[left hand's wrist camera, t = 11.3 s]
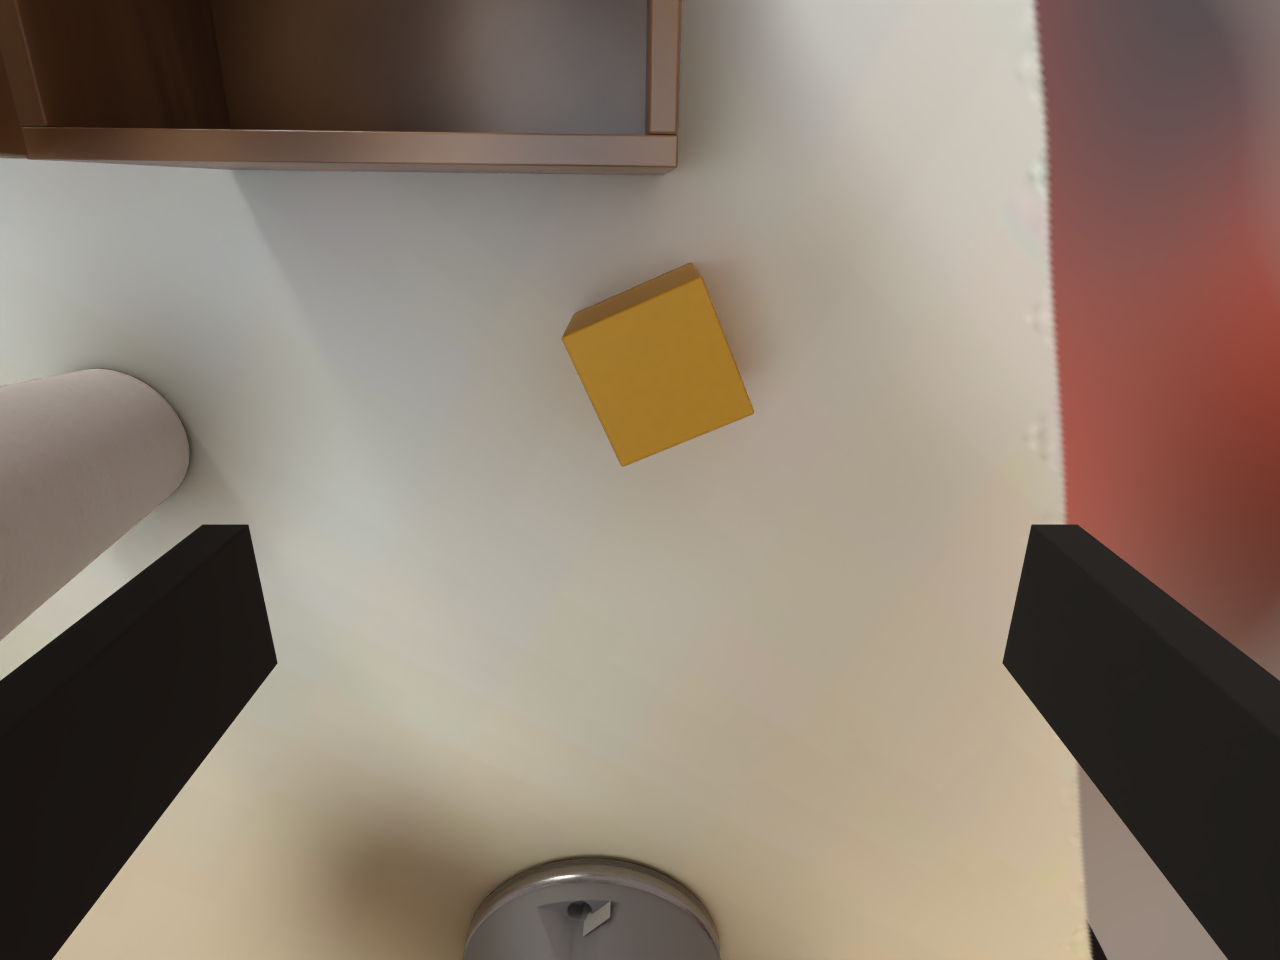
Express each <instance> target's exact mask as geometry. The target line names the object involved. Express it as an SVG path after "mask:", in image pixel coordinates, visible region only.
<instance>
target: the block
mask: <svg viewBox="0 0 1280 960" xmlns="http://www.w3.org/2000/svg"><path fill="white" fill-rule="evenodd" d="M562 340H563V343H564V345H565V347H566V349H567V351H568V353H569V355H570V358H571V360H572V362H573V364H574V366H575V368H576V370H577V373H578V375H579V377H580V379H581V381H582V383H583V385H584V388H585V390H586V392H587V394H588V396H589V398H590V400H591V402H592V405H593V407H594V409H595V411H596V413H597V415H598V417H599V420H600V422H601V424H602V426H603V428H604V430H605V432H606V435H607V437H608V439H609V441H610V443H611V445H612V447H613V450H614V452H615V454H616V456H617V458H618V460H619V462H620V464H621V466H626V465H628V464H631V463H633V462H636V461H638V460H641V459H643V458H646V457H648V456H651V455H653V454H656V453H658V452H660V451H663V450H665V449H668V448H670V447H673V446H675V445H678V444H680V443H683V442H685V441H688V440H690V439H693V438H695V437H697V436H700V435H702V434H705V433H707V432H710V431H712V430H715V429H717V428H720V427H722V426H725V425H727V424H730V423H732V422H735V421H737V420H739V419H742V418H744V417H747V416H749V415H752V414H753V413H754V410H753V407H752V405H751V402H750V400H749V397H748V395H747V392H746V389H745V387H744V384H743V382H742V379H741V377H740V374H739V371H738V369H737V366H736V364H735V361H734V359H733V356H732V353H731V351H730V348H729V346H728V343H727V340H726V338H725V335H724V333H723V330H722V328H721V325H720V322H719V320H718V317H717V315H716V312H715V310H714V307H713V304H712V302H711V299H710V297H709V294H708V292H707V289H706V286H705V284H704V281H703V279H702V277H701V276H700V274H699V273H698V271H697V270H696V269H695V267H694V266H693V264H692V263H688V264H686V265H684V266H681V267H679V268H677V269H675V270H672V271H670V272H668V273H666V274H663V275H661V276H659V277H657V278H654V279H652V280H650V281H648V282H645V283H643V284H641V285H638V286H636V287H634V288H632V289H629V290H627V291H625V292H623V293H620V294H618V295H616V296H614V297H611V298H609V299H607V300H604V301H602V302H600V303H598V304H595V305H593V306H591V307H589V308H586V309H584V310H582V311H580V312H577V313H575V314H574V315H573V317H572V319H571V321H570V323H569V325H568V327H567V329H566V331H565V333H564V335H563V337H562Z"/></svg>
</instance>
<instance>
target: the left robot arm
mask: <svg viewBox="0 0 1280 960" xmlns="http://www.w3.org/2000/svg"><path fill="white" fill-rule="evenodd" d="M276 664H277V659H276V654H275V649H274V644H273V640H272V635H271V630H270V625H269V621H268V616H267V611H266V606H265V602H264V597H263V592H262V587H261V583H260V578H259V573H258V568H257V563H256V559H255V554H254V549H253V544H252V540H251V535H250V530H249V525H202V526H200V527H199V528H198V529H196V530H195V531H194V532H193V533H191V534H190V535H189V536H187V537H186V538H185V539H183V540H182V541H181V542H180V543H178V544H177V545H176V546H174V547H173V548H172V549H170V550H169V551H168V552H167V553H165V554H164V555H163V556H161V557H160V558H159V559H158V560H156V561H155V562H154V563H152V564H151V565H150V566H148V567H147V568H146V569H145V570H143V571H142V572H141V573H139V574H138V575H137V576H136V577H134V578H133V579H132V580H130V581H129V582H128V583H126V584H125V585H124V586H123V587H121V588H120V589H119V590H117V591H116V592H115V593H114V594H112V595H111V596H110V597H108V598H107V599H106V600H104V601H103V602H102V603H101V604H99V605H98V606H97V607H95V608H94V609H93V610H92V611H90V612H89V613H88V614H86V615H85V616H84V617H82V618H81V619H80V620H79V621H77V622H76V623H75V624H73V625H72V626H71V627H69V628H68V629H67V630H66V631H64V632H63V633H62V634H60V635H59V636H58V637H57V638H55V639H54V640H53V641H51V642H50V643H49V644H47V645H46V646H45V647H44V648H42V649H41V650H40V651H38V652H37V653H36V654H35V655H33V656H32V657H31V658H29V659H28V660H27V661H25V662H24V663H23V664H22V665H20V666H19V667H18V668H16V669H15V670H14V671H13V672H11V673H10V674H9V675H7V676H6V677H5V678H3V679H2V680H1V681H0V960H52V959H53V957H54V956H55V955H56V953H57V952H58V951H59V949H60V948H61V947H62V946H63V944H64V943H65V942H66V940H67V939H68V938H69V936H70V935H71V934H72V932H73V931H74V930H75V928H76V927H77V926H78V925H79V923H80V922H81V921H82V919H83V918H84V917H85V915H86V914H87V913H88V911H89V910H90V909H91V907H92V906H93V905H94V904H95V902H96V901H97V900H98V898H99V897H100V896H101V894H102V893H103V892H104V890H105V889H106V888H107V886H108V885H109V884H110V882H111V881H112V880H113V879H114V877H115V876H116V875H117V873H118V872H119V871H120V869H121V868H122V867H123V865H124V864H125V863H126V861H127V860H128V859H129V858H130V856H131V855H132V854H133V852H134V851H135V850H136V848H137V847H138V846H139V844H140V843H141V842H142V840H143V839H144V838H145V837H146V835H147V834H148V833H149V831H150V830H151V829H152V827H153V826H154V825H155V823H156V822H157V821H158V819H159V818H160V817H161V815H162V814H163V813H164V812H165V810H166V809H167V808H168V806H169V805H170V804H171V802H172V801H173V800H174V798H175V797H176V796H177V794H178V793H179V792H180V791H181V789H182V788H183V787H184V785H185V784H186V783H187V781H188V780H189V779H190V777H191V776H192V775H193V773H194V772H195V771H196V770H197V768H198V767H199V766H200V764H201V763H202V762H203V760H204V759H205V758H206V756H207V755H208V754H209V752H210V751H211V750H212V748H213V747H214V746H215V745H216V743H217V742H218V741H219V739H220V738H221V737H222V735H223V734H224V733H225V731H226V730H227V729H228V727H229V726H230V725H231V724H232V722H233V721H234V720H235V718H236V717H237V716H238V714H239V713H240V712H241V710H242V709H243V708H244V706H245V705H246V704H247V703H248V701H249V700H250V699H251V697H252V696H253V695H254V693H255V692H256V691H257V689H258V688H259V687H260V685H261V684H262V683H263V682H264V680H265V679H266V678H267V676H268V675H269V674H270V672H271V671H272V670H273V668H274V667H275V666H276ZM1003 664H1004V666H1005V667H1006V668H1007V670H1008V671H1009V672H1010V674H1011V675H1012V676H1013V678H1014V679H1015V680H1016V682H1017V683H1018V684H1019V685H1020V687H1021V688H1022V689H1023V691H1024V692H1025V693H1026V695H1027V696H1028V697H1029V699H1030V700H1031V701H1032V703H1033V704H1034V705H1035V706H1036V708H1037V709H1038V710H1039V712H1040V713H1041V714H1042V716H1043V717H1044V718H1045V720H1046V721H1047V722H1048V724H1049V725H1050V726H1051V727H1052V729H1053V730H1054V731H1055V733H1056V734H1057V735H1058V737H1059V738H1060V739H1061V741H1062V742H1063V743H1064V745H1065V746H1066V747H1067V748H1068V750H1069V751H1070V752H1071V754H1072V755H1073V756H1074V758H1075V759H1076V760H1077V762H1078V763H1079V764H1080V766H1081V767H1082V768H1083V770H1084V771H1085V772H1086V773H1087V775H1088V776H1089V777H1090V779H1091V780H1092V781H1093V783H1094V784H1095V785H1096V787H1097V788H1098V789H1099V791H1100V792H1101V793H1102V794H1103V796H1104V797H1105V798H1106V800H1107V801H1108V802H1109V804H1110V805H1111V806H1112V808H1113V809H1114V810H1115V812H1116V813H1117V814H1118V815H1119V817H1120V818H1121V819H1122V821H1123V822H1124V823H1125V825H1126V826H1127V827H1128V829H1129V830H1130V831H1131V833H1132V834H1133V835H1134V836H1135V838H1136V839H1137V840H1138V842H1139V843H1140V844H1141V846H1142V847H1143V848H1144V850H1145V851H1146V852H1147V854H1148V855H1149V856H1150V858H1151V859H1152V860H1153V861H1154V863H1155V864H1156V865H1157V867H1158V868H1159V869H1160V871H1161V872H1162V873H1163V875H1164V876H1165V877H1166V879H1167V880H1168V881H1169V882H1170V884H1171V885H1172V886H1173V888H1174V889H1175V890H1176V892H1177V893H1178V894H1179V896H1180V897H1181V898H1182V900H1183V901H1184V902H1185V903H1186V905H1187V906H1188V907H1189V909H1190V910H1191V911H1192V913H1193V914H1194V915H1195V917H1196V918H1197V919H1198V921H1199V922H1200V923H1201V924H1202V926H1203V927H1204V928H1205V930H1206V931H1207V932H1208V934H1209V935H1210V936H1211V938H1212V939H1213V940H1214V942H1215V943H1216V944H1217V945H1218V947H1219V948H1220V949H1221V951H1222V952H1223V953H1224V955H1225V956H1226V957H1227V959H1228V960H1280V681H1279V680H1278V679H1277V678H1275V677H1274V676H1273V675H1271V674H1270V673H1269V672H1267V671H1266V670H1265V669H1264V668H1262V667H1261V666H1260V665H1258V664H1257V663H1256V662H1255V661H1253V660H1252V659H1251V658H1249V657H1248V656H1247V655H1245V654H1244V653H1243V652H1242V651H1240V650H1239V649H1238V648H1236V647H1235V646H1234V645H1232V644H1231V643H1230V642H1229V641H1227V640H1226V639H1225V638H1223V637H1222V636H1221V635H1220V634H1218V633H1217V632H1216V631H1214V630H1213V629H1212V628H1211V627H1209V626H1208V625H1207V624H1205V623H1204V622H1203V621H1201V620H1200V619H1199V618H1198V617H1196V616H1195V615H1194V614H1192V613H1191V612H1190V611H1188V610H1187V609H1186V608H1185V607H1183V606H1182V605H1181V604H1179V603H1178V602H1177V601H1176V600H1174V599H1173V598H1172V597H1170V596H1169V595H1168V594H1166V593H1165V592H1164V591H1163V590H1161V589H1160V588H1159V587H1157V586H1156V585H1155V584H1154V583H1152V582H1151V581H1150V580H1148V579H1147V578H1146V577H1144V576H1143V575H1142V574H1141V573H1139V572H1138V571H1137V570H1135V569H1134V568H1133V567H1132V566H1130V565H1129V564H1128V563H1126V562H1125V561H1124V560H1122V559H1121V558H1120V557H1119V556H1117V555H1116V554H1115V553H1113V552H1112V551H1111V550H1109V549H1108V548H1107V547H1106V546H1104V545H1103V544H1102V543H1100V542H1099V541H1098V540H1096V539H1095V538H1094V537H1093V536H1091V535H1090V534H1089V533H1087V532H1086V531H1085V530H1084V529H1082V528H1081V527H1080V526H1078V525H1031V530H1030V535H1029V540H1028V544H1027V549H1026V554H1025V559H1024V563H1023V568H1022V573H1021V578H1020V583H1019V587H1018V592H1017V597H1016V602H1015V606H1014V611H1013V616H1012V621H1011V625H1010V630H1009V635H1008V640H1007V644H1006V649H1005V654H1004V659H1003ZM1087 922H1088V921H1087ZM1087 925H1088V934H1089V943H1090V944H1089V945H1090V954H1091V957H1092V959H1093V960H1108V959H1107V957H1106V956H1105V954H1104V951H1103V949H1102V947H1101V945H1100V943H1099V942H1098V940H1097V938H1096V936H1095V934H1094V932H1093V930H1092V928H1091V926H1090V925H1089V923H1087ZM462 960H720V950H719V941H718V935H717V931H716V928H715V925H714V923H713V920H712V919H711V917H710V915H709V913H708V912H707V910H706V909H705V907H704V906H703V905H702V903H701V902H700V901H699V900H698V899H697V898H696V897H695V896H694V895H693V894H692V893H691V892H690V891H688V890H687V889H686V888H685V887H683V886H682V885H680V884H679V883H678V882H676V881H674V880H673V879H671V878H669V877H667V876H665V875H663V874H661V873H659V872H657V871H654V870H652V869H649V868H646V867H643V866H640V865H637V864H633V863H628V862H624V861H618V860H610V859H597V858H583V859H570V860H563V861H557V862H553V863H548V864H544V865H541V866H538V867H535V868H532V869H530V870H527V871H525V872H523V873H520V874H518V875H517V876H515V877H513V878H511V879H509V880H508V881H506V882H505V883H503V884H502V885H500V886H499V887H498V888H497V889H496V890H494V891H493V892H492V893H491V894H490V895H489V896H488V897H487V898H486V899H485V900H484V902H483V903H482V904H481V906H480V907H479V908H478V910H477V912H476V913H475V915H474V917H473V920H472V922H471V924H470V928H469V932H468V936H467V940H466V944H465V949H464V953H463V958H462Z"/></svg>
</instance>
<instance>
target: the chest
mask: <svg viewBox="0 0 1280 960" xmlns="http://www.w3.org/2000/svg"><path fill="white" fill-rule="evenodd" d="M681 9H682V0H0V49H1V52H2V56H3V60H4V64H5V68H6V72H7V75H8V79H9V83H10V87H11V91H12V95H13V99H14V102H15V106H16V110H17V114H18V118H19V122H20V125H21V129H22V133H23V137H24V141H25V145H26V148H27V152H28V157H27V159H32V160H52V161H71V162H91V163H110V164H130V165H150V166H169V167H189V168H208V169H228V170H304V171H382V172H459V173H536V174H613V175H664V174H666V173H668V172H669V171H671V170H673V169H674V168H676V167H677V157H678V136H677V133H678V118H679V82H680V45H681Z"/></svg>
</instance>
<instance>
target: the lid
mask: <svg viewBox="0 0 1280 960" xmlns="http://www.w3.org/2000/svg"><path fill="white" fill-rule="evenodd" d="M27 157H28V152H27V148H26V145H25V141H24V137H23V133H22V129H21V125H20V122H19V118H18V114H17V110H16V106H15V102H14V99H13V95H12V91H11V87H10V83H9V79H8V75H7V72H6V68H5V64H4V60H3V56H2V52H1V49H0V158H21V159H25V158H27Z"/></svg>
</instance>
